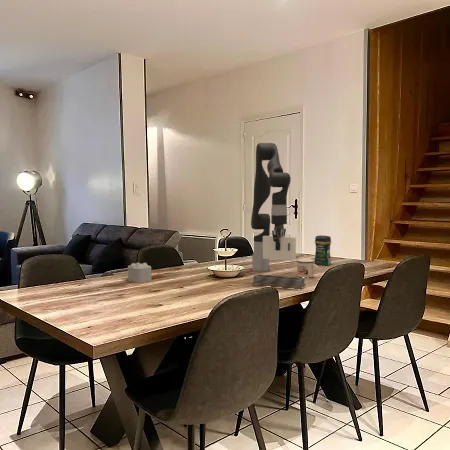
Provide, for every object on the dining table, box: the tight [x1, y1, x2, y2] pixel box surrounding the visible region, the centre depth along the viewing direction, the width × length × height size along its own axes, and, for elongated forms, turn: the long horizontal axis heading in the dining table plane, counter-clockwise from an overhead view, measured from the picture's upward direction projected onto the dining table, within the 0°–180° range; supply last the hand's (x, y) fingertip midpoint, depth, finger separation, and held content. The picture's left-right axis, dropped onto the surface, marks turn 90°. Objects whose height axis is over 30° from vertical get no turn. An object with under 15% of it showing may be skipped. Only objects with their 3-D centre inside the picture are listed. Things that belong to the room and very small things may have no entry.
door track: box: [251, 273, 306, 289], centre depth 218 cm, size 24×9×4 cm, turn 63°
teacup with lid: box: [296, 254, 319, 278], centre depth 240 cm, size 12×9×12 cm
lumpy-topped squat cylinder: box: [127, 262, 152, 283], centre depth 235 cm, size 10×13×9 cm
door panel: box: [263, 235, 297, 262], centre depth 216 cm, size 16×3×11 cm, turn 63°
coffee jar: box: [314, 234, 332, 267], centre depth 280 cm, size 10×8×19 cm
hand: (278, 249), depth 216 cm, fingers closed on door panel, 2 cm apart
